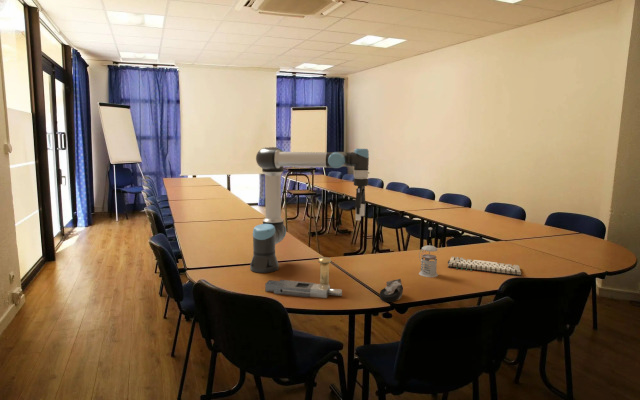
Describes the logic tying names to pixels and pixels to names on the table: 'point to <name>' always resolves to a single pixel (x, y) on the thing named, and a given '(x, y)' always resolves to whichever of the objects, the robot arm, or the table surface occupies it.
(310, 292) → the clevis
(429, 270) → the french press
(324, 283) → the clevis pin
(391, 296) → the caster wheel
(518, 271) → the mechanical keyboard
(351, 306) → the table surface
